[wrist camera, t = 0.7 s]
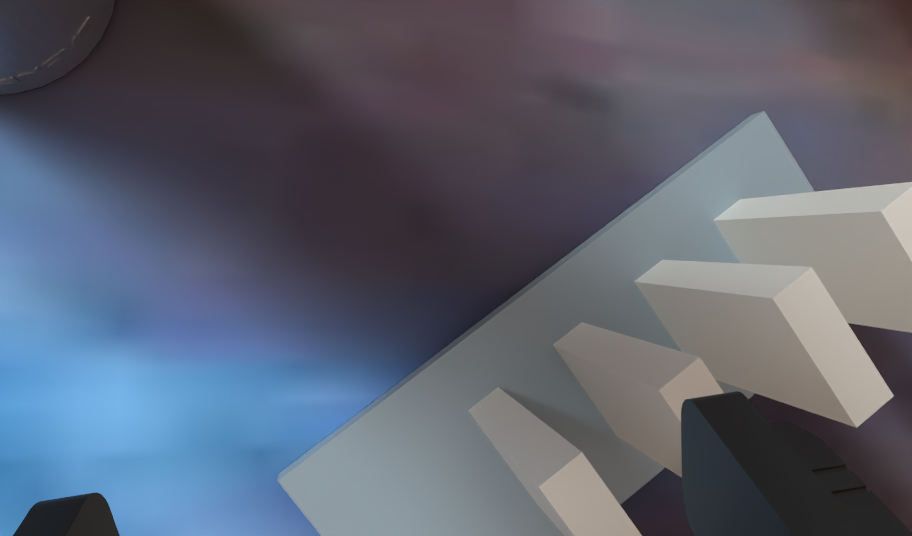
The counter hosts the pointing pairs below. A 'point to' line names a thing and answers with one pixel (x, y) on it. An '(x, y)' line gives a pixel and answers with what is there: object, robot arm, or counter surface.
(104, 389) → the counter surface
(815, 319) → the domino
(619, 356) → the domino
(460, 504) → the board
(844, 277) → the domino
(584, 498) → the domino
